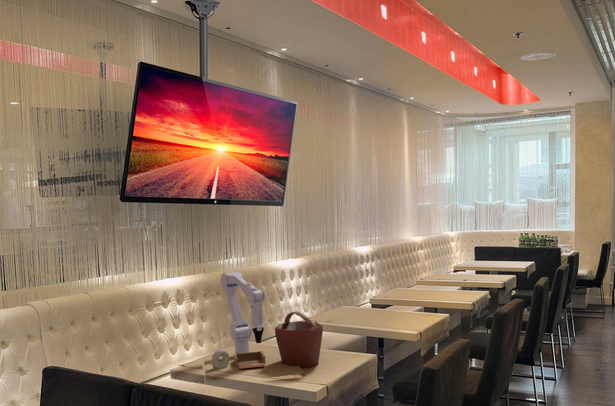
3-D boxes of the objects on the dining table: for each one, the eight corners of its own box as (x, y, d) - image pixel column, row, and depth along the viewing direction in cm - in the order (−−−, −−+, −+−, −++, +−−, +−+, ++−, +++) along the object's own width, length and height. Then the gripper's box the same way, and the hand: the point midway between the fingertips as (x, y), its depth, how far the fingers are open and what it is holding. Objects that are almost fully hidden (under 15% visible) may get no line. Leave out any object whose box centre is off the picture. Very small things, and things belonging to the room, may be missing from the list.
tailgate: (238, 365, 276) (239, 366, 269) (263, 363, 278) (265, 363, 272) (238, 368, 276) (239, 368, 269) (263, 365, 278) (265, 366, 271)
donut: (214, 373, 272) (213, 351, 272) (210, 372, 274) (209, 351, 274) (231, 368, 279) (230, 347, 279) (226, 367, 281) (225, 346, 281)
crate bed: (234, 364, 287) (233, 353, 287) (262, 361, 289) (262, 351, 290) (236, 369, 276) (235, 359, 276) (265, 366, 279) (265, 356, 279)
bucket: (329, 368, 271) (326, 314, 272) (283, 374, 265) (280, 318, 265) (314, 356, 295) (311, 306, 295) (271, 361, 289) (268, 310, 289)
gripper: (267, 316, 280) (268, 345, 280) (263, 311, 294) (264, 339, 294) (252, 318, 279) (253, 346, 279) (249, 313, 293) (250, 340, 293)
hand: (258, 342), depth 286 cm, fingers closed
